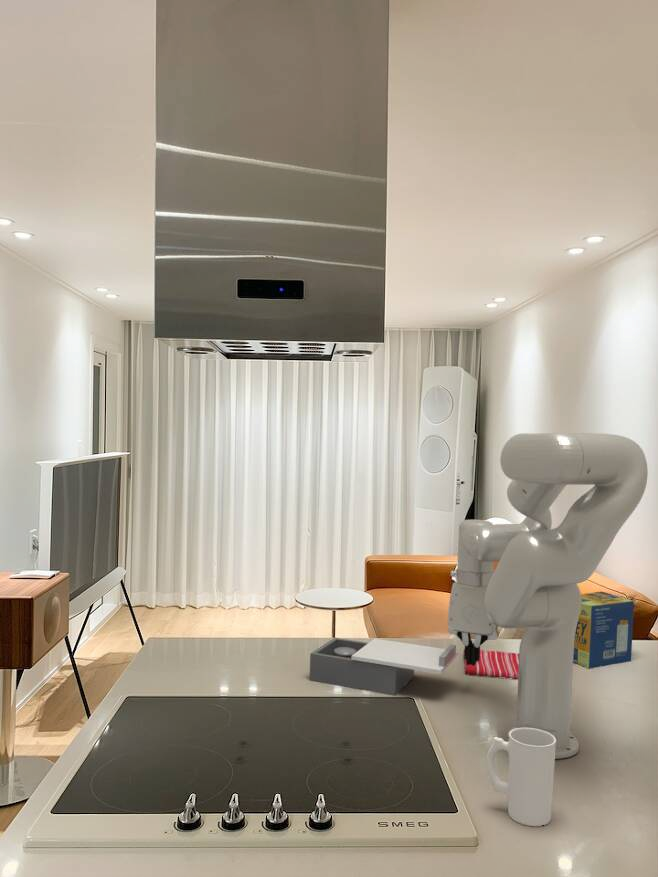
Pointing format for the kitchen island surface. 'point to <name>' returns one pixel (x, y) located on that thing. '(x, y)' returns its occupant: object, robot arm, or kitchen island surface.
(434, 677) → the kitchen island surface
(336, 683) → the housing
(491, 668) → the dish towel
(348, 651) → the jar
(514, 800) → the mug
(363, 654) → the lid
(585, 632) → the protein box
